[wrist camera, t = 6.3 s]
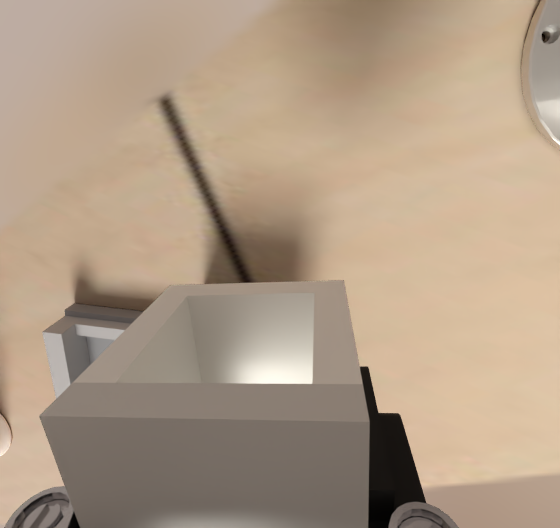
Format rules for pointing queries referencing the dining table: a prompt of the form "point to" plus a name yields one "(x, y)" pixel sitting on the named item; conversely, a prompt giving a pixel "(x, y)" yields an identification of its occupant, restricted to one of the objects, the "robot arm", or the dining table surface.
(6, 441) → the mug
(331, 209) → the dining table surface
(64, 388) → the toy coffee machine
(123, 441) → the white box on legs
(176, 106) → the dining table surface
